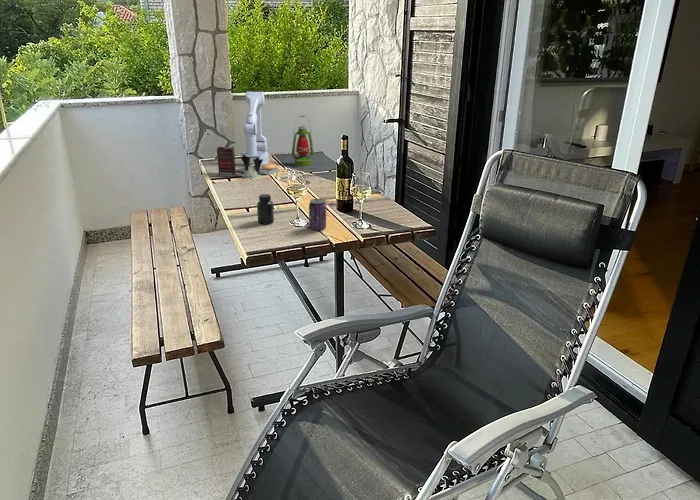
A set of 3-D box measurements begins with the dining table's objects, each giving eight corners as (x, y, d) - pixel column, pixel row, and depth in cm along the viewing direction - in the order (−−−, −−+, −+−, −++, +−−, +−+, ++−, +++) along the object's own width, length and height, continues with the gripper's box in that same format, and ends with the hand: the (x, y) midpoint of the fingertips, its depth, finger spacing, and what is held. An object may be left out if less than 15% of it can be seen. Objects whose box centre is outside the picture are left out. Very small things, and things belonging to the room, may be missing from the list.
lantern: (312, 163, 329) (311, 113, 317) (316, 167, 319) (316, 116, 308) (290, 164, 325) (288, 114, 313) (293, 168, 316) (292, 117, 304)
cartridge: (252, 175, 298) (252, 163, 296) (258, 176, 296) (257, 164, 294) (247, 176, 295) (246, 165, 292) (253, 177, 293) (252, 166, 290)
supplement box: (236, 174, 300) (234, 146, 294) (233, 176, 296) (231, 148, 290) (221, 174, 301) (219, 146, 295) (218, 176, 297) (216, 147, 290)
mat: (252, 174, 301) (252, 173, 301) (264, 177, 297) (264, 176, 297) (241, 177, 295) (241, 176, 294) (253, 180, 290) (253, 179, 290)
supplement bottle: (264, 218, 233) (263, 192, 228) (277, 221, 230) (276, 195, 225) (254, 223, 228) (253, 196, 223) (267, 226, 224) (266, 199, 220)
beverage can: (309, 225, 226) (308, 198, 222) (325, 225, 227) (325, 198, 222) (309, 231, 220) (309, 203, 215) (326, 230, 220) (326, 203, 216)
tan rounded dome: (268, 170, 310) (268, 163, 308) (279, 172, 305) (279, 165, 304) (258, 172, 303) (258, 165, 302) (269, 175, 299) (269, 168, 297)
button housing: (268, 170, 310) (268, 165, 308) (278, 173, 305) (278, 167, 304) (259, 173, 303) (258, 168, 302) (269, 175, 299) (269, 170, 298)
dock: (245, 169, 312) (244, 166, 311) (257, 172, 306) (257, 169, 306) (232, 172, 304) (232, 169, 303) (245, 175, 299) (245, 172, 298)
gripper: (236, 145, 290) (238, 169, 295) (255, 149, 282) (257, 173, 287) (245, 143, 295) (247, 167, 300) (265, 146, 288) (266, 171, 293)
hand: (252, 170), depth 294 cm, fingers open, 7 cm apart
